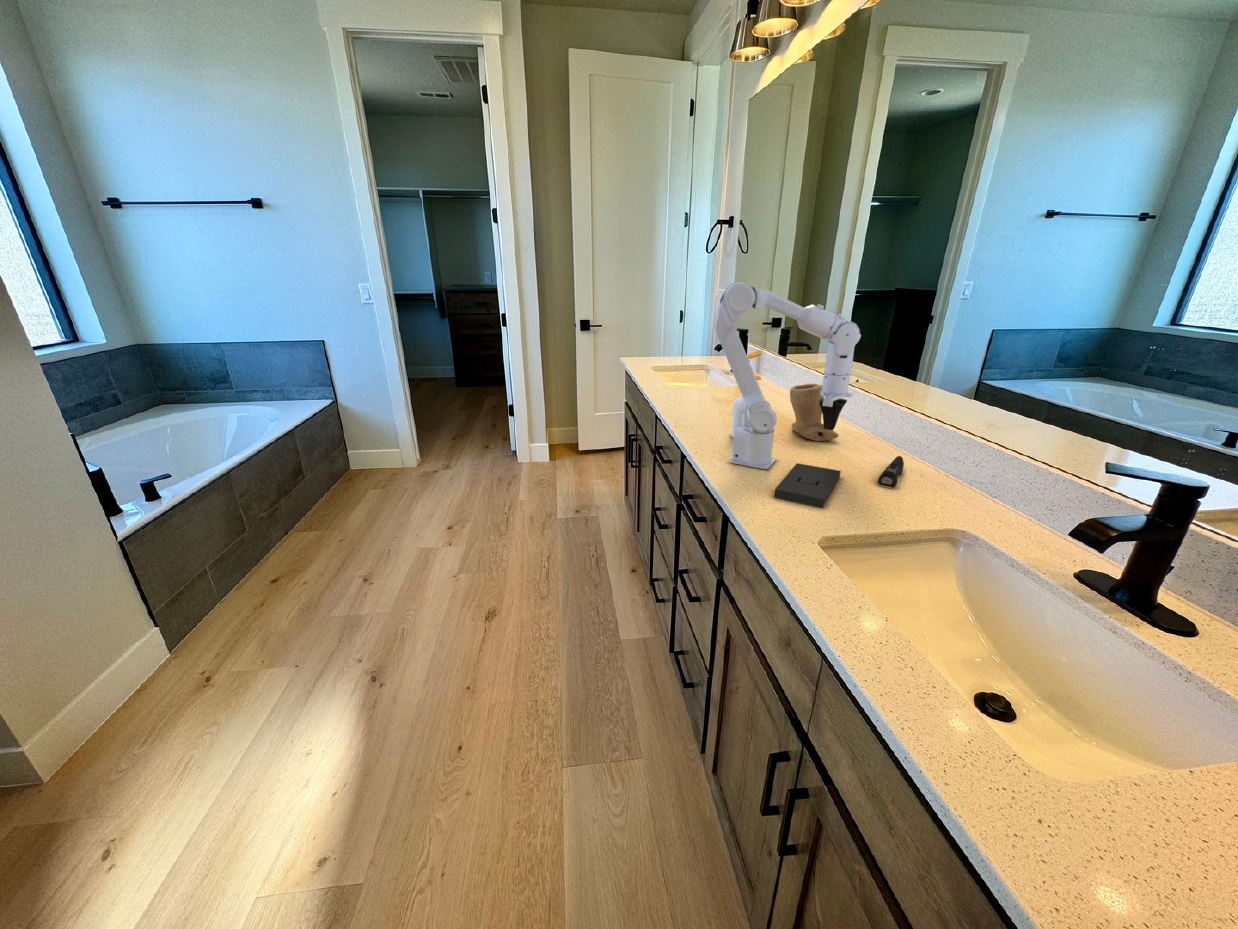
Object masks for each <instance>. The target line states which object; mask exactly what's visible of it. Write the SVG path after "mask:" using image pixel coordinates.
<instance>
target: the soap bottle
mask: <svg viewBox="0 0 1238 929" xmlns="http://www.w3.org/2000/svg"><path fill="white" fill-rule="evenodd" d="M746 355H747V358H748V360H749V361H750V360H751V359H753V358H757V357H760V356H762V353H761V352H760V351H754V352H752V353H749V354H746ZM755 377H756V380H757V381H758V380H760V381H761V380H762V377H761V376H760V375H755ZM732 404H733V405H732V419H731V432H730V433H731V434H730V435H731V438H733V437H734V433H735V430H736V428H737V427H738V426H743V427H744V426H745V425H746V423H747V422H748V421H749V419H748V418H747V416H746V403H745V401H744V398H743V396H742V395H741V396H739V397H738V398H736V399H735V400H734V401H733V403H732Z"/></svg>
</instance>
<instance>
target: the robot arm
mask: <svg viewBox="0 0 1238 929" xmlns="http://www.w3.org/2000/svg"><path fill="white" fill-rule="evenodd" d="M751 308H752V309H754V310H759V309H769V310H772V311H774V312H776V313H779V314H781V315H783V316H785V317H788V318H790V319H793V320H795V321H796V322H797V325H798V328H799V329H800V330H802V331H804V332H806V333H808V334H810V335H813V336H815V337H817V338H819V339H822V340H827V342H828V343H827V344H828V345H827V352H826V356H825V364H824V371H823V377H822V384H821V385H822V390H821V392H820V394H821V396H822V397H823V399H821V400H820V401H819V405H820V407H821V410H822V424H823V425H824V429H827V430H833V431H834V429H835V427H836V425H837V423H838V420H839V417H840V414H841V412H842V410H843V408H844V407H845V405H846V404H847V402H848V400H847V399H845V398H853V396H854V393H853V392H849V386H850V380H851V374H852V367H853V360H854V353H855V348H856V347H855V346H856V345H857V344H858V343H859V341H860V340H861V337H862V334H861V333H860V332H861V330H860V328H859V326H858V324H857V323H855V322H853V321H850V320H848V319H846V318H843V317H844V316H843V314H840V313H838V314H835V313H832V312H830V311H828V310H826V309H824V308H825V306H824V305H822V304H820V303H819V304H817V305H815V304H810V305H808V306H805V307H803V306H802V305H799V304H798V303H795V302H793V301H791V300H789V299H787V298H785V297H783V296H781V295H779V294H777V293H775V292H773V291H771V290H769V289H765V288H761V287H757V286H753V285H750V284H748V283H744V282H740V281H739V282H733V283H731V284H729V285H728V286H727V287H726V288H725V290H724V291H723V293H722V295H721V297H720V299H719V301H718V309H717V314H716V317H715V318H716V319H715V324H714V331H715V334H716V336H717V339H718V341H719V343H720V345H721V348H722V350H723V353H724V355H725V358H726V360H727V362H728V365H729V367H730V369H731V372H732V375H733V377H734V380H735V382H736V384H737V386H738V389H739V391H740V393H741V396H743V398H744V401H745V403H746V416H747V418H748V419H749V421H748V422H747V423H746V425H745V426H744V427H743V426H738V427H737V428H736V430H735V433H734V437H732V447H731V448H732V450H731V459H730V463H731V464H735V465H740V466H744V467H745V466H746V467H751V468H754V469H755V468H756V469H762V470H768V469H769V468H770V467H771V466H772V465H773V464H774V463H775V462H776V461H777V458H776V457H772V456H773V448H774V436H775V426H776V424H777V421H778V420H777V419H778V418H777V413H776V412H775V411H774V410H773V409H772V406H771V404H770V403H769V401H767V400H766V399H765V397H764V394H763V392H762V390H761V387H760V385H759V382H758V380H756V377H755V376H756V375H755V372H754V370H753V368H752V366H751V363H750V359H749V360H748V358H747V355H748V354H747V352H746V350H745V348H744V345H743V343H742V341H741V337H740V335H739V332H738V328H739V325H740V324H741V321H742V319H743V317H744V316H745V315H746V314H747V313H748V312H749V311H750V309H751Z"/></svg>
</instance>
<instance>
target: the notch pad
mask: <svg viewBox="0 0 1238 929" xmlns="http://www.w3.org/2000/svg"><path fill="white" fill-rule="evenodd" d="M832 487H833V484H829V483H824V482H819V483H818V485H812V484H806V483H801V482H799V478H798V477H793V476H787V474H786V475H785V476H784V477H783V479H782V480H781V481H780V483H778V485H777V486H776V488H774V494H773V495H774V496H773V498H775V499H780V500H783V501H789V502H793V503H797V504H803V505H806V506H811V507H816V508H821V509H823V508H824V507H825V505H826V503H827V501H828V500H829V498H830V497H831V495H832V493H833V491H832Z"/></svg>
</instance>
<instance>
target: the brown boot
mask: <svg viewBox="0 0 1238 929" xmlns="http://www.w3.org/2000/svg"><path fill="white" fill-rule="evenodd" d="M821 390H822V384H817V383H805V384H797V385H794V386H792V387H791V388H790V390H789V400H790V404H791V407H792V411H793V412H794V417H795V422H792V424H791V429H792V430H793V431H795V432H796V433H798V434H799V435H800V436H802V437H804V438H806V439H808V440H811V441H815V442H827V441H832V440H835V439H838V438H839V436H840V435H839V434H838V433H837V432H836V431H834V429H833V430H827V429H824V425H823V422H822V417H823V414H822V410H821V407H820V405H819V401H820V400H821V399H823V397H822V396H821V394H820V392H821Z"/></svg>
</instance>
